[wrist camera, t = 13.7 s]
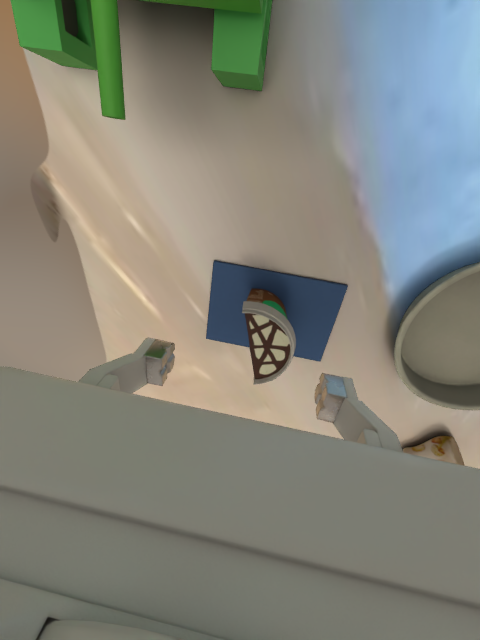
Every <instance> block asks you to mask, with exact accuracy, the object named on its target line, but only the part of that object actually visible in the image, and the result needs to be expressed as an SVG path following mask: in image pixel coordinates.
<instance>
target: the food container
mask: <svg viewBox="0 0 480 640" xmlns="http://www.w3.org/2000/svg"><path fill="white" fill-rule="evenodd" d="M242 309H243V310H242V313H245V319H246V325H247V332H248V339H249V346H250V352H251V358H252V364H253V370H254V385H255V384H262V383H266V382H269V381H272V380H274V379H276V378H277V377H278V376H280V375H281V374H282V373H283V372H284V371H285V370H286V369H287V367H288V366H289V364H290V363H291V360H292V358H293V355H294V352H295V348H296V337H295V333H294V330H293V327H292V326H291V324H290V322H289V321H288V320H287V315H286V309H285V306H284V304H283V303H282V301H281V300H280V299H279V298H278V297H277V296H276V295H275V294H273V293H272V292H269V291H267V290H264V289H258V288H251V291H250V293H249V296H248V298H247V301H243V307H242Z"/></svg>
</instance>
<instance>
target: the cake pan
mask: <svg viewBox="0 0 480 640" xmlns="http://www.w3.org/2000/svg"><path fill="white" fill-rule="evenodd" d="M394 361H395V366H396V369H397V372H398V374H399V377H400V378H401V380H402V381H403V383H404V384H405V385H406V386H407V387H408V388H409V389H410V390H411V391H412V392H413V393H414V394H416V395H417V396H419V397H420V398H422V399H424V400H426V401H428V402H430V403H433V404H436V405H439V406H442V407H446V408H452V409H459V410H480V262H478V263H474V264H471V265H467V266H465V267H462V268H460V269H457V270H455V271H453V272H451V273H449V274H447V275H445V276H443V277H441V278H440V279H438V280H437V281H435V282H434V283H432V284H431V285H430V286H428V287H427V288H426V289H425V290H424V291H422V292H421V293H420V294H419V295H418V296H417V297H416V298H415V300H414V301H413V302H412V303H411V305H410V306H409V307H408V309H407V311H406V312H405V314H404V316H403V318H402V320H401V323H400V326H399V330H398V335H397V339H396V343H395V349H394Z"/></svg>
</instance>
